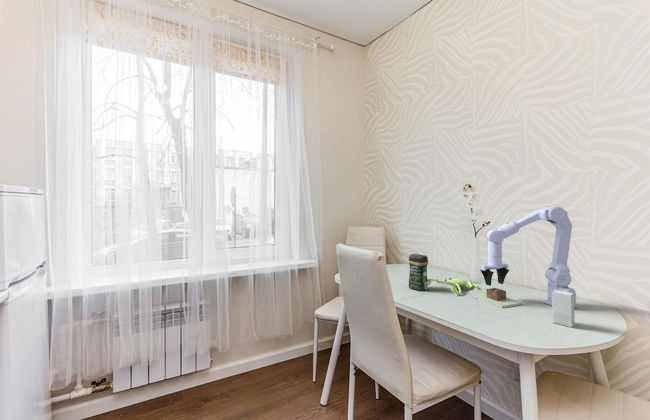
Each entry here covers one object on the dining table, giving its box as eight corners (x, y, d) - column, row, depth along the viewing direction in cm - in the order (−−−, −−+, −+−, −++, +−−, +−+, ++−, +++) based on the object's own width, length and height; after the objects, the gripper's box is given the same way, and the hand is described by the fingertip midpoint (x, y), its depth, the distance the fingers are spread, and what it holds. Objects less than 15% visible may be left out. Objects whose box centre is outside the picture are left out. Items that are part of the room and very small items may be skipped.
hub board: (522, 304, 131) (522, 293, 131) (501, 308, 127) (501, 296, 127) (491, 294, 146) (491, 284, 146) (472, 296, 142) (472, 286, 142)
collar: (506, 299, 135) (506, 291, 135) (496, 301, 133) (496, 292, 133) (495, 296, 140) (495, 287, 140) (486, 297, 138) (486, 288, 138)
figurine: (422, 289, 157) (422, 278, 156) (451, 281, 172) (451, 271, 171) (453, 298, 141) (454, 287, 141) (483, 289, 156) (483, 278, 156)
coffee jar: (406, 288, 158) (406, 254, 157) (414, 285, 163) (414, 252, 162) (422, 292, 150) (422, 256, 150) (430, 289, 155) (430, 254, 155)
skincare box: (574, 324, 109) (575, 292, 109) (572, 328, 106) (572, 295, 106) (554, 319, 114) (554, 289, 114) (551, 323, 111) (551, 291, 111)
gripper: (499, 253, 143) (498, 280, 143) (475, 255, 138) (475, 283, 139) (512, 255, 136) (512, 284, 137) (488, 257, 132) (488, 287, 132)
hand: (494, 284), depth 137 cm, fingers open, 7 cm apart
